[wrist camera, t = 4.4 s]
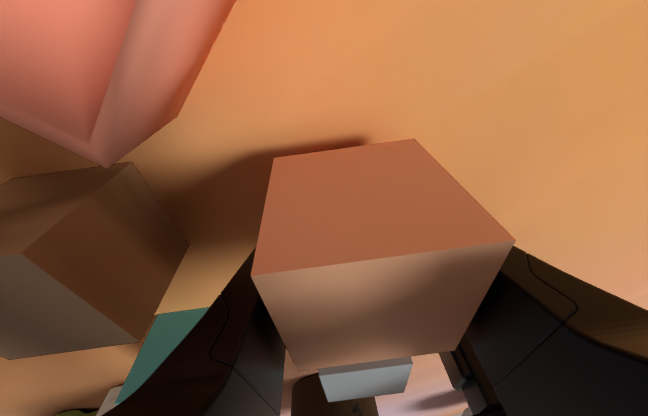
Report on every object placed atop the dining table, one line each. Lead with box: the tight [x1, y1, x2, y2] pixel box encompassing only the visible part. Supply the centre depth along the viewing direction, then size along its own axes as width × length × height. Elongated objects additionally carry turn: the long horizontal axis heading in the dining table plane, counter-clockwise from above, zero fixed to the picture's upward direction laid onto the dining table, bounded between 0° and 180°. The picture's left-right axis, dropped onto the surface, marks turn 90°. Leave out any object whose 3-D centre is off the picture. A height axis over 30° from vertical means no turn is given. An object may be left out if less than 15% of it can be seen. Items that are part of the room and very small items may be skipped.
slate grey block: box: [319, 356, 413, 402], centre depth 16 cm, size 5×5×5 cm
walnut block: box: [0, 162, 189, 360], centre depth 9 cm, size 5×5×5 cm
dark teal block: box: [114, 307, 210, 405], centre depth 16 cm, size 5×5×5 cm
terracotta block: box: [251, 139, 516, 371], centre depth 8 cm, size 5×5×5 cm
